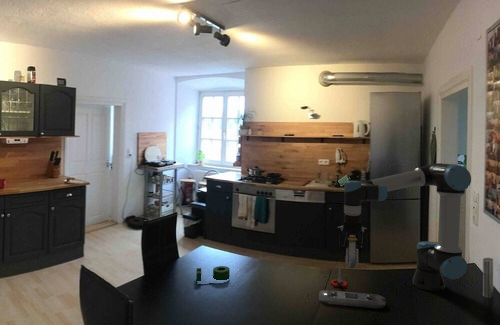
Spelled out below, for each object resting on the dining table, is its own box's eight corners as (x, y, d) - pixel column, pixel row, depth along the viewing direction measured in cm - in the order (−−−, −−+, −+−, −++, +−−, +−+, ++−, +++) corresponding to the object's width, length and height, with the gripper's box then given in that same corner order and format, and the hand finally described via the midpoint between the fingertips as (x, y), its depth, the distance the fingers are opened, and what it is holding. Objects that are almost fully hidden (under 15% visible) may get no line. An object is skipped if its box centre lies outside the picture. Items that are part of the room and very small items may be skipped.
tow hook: (330, 281, 185) (331, 287, 176) (330, 257, 185) (331, 262, 176) (345, 282, 184) (348, 288, 175) (346, 258, 184) (348, 263, 175)
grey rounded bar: (383, 301, 160) (383, 293, 160) (386, 309, 152) (386, 301, 152) (319, 295, 167) (319, 287, 166) (318, 302, 159) (318, 294, 159)
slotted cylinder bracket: (228, 276, 191) (228, 265, 191) (230, 283, 182) (230, 271, 182) (196, 278, 189) (196, 267, 188) (196, 285, 180) (196, 273, 179)
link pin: (357, 265, 161) (357, 235, 160) (358, 269, 155) (358, 238, 155) (345, 264, 162) (345, 234, 161) (346, 268, 157) (346, 237, 156)
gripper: (370, 213, 159) (369, 262, 160) (333, 211, 163) (333, 259, 164) (372, 216, 152) (372, 267, 153) (333, 214, 156) (333, 264, 157)
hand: (351, 263), depth 159 cm, fingers closed on link pin, 4 cm apart
